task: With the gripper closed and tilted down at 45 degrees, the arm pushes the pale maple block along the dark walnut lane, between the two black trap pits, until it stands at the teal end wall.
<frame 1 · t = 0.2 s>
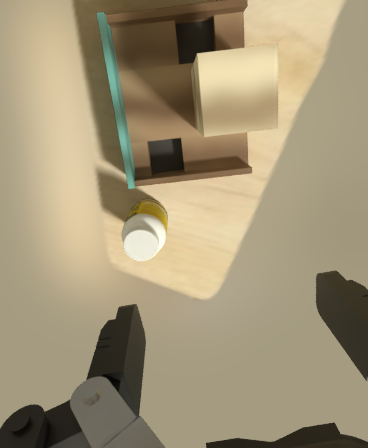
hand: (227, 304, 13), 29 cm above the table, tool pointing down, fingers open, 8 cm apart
supplement bottle: (149, 216, 43), on the table
trap lane: (182, 102, 37), on the table
maple block: (220, 97, 35), point 2 cm above the table, touching trap lane
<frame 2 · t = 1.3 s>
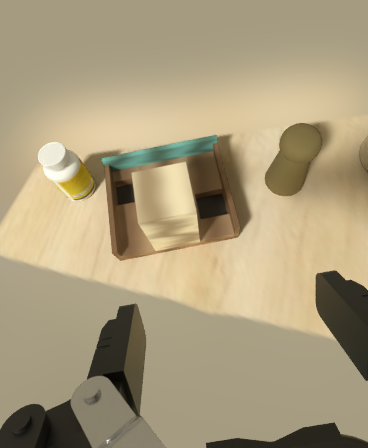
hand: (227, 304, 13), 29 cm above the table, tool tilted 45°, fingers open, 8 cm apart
supplement bottle: (81, 188, 50), on the table
trap lane: (171, 204, 47), on the table
maple block: (174, 226, 44), point 2 cm above the table, touching trap lane
olive pawn: (283, 179, 47), on the table
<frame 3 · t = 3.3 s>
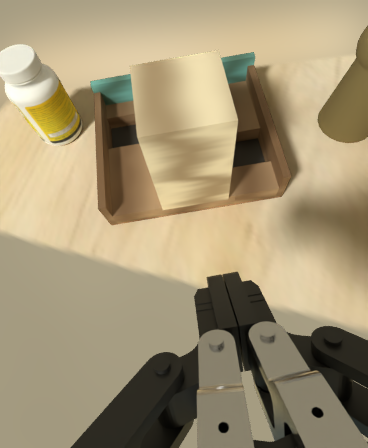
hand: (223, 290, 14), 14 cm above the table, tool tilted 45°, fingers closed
supplement bottle: (63, 130, 37), on the table
trap lane: (185, 152, 34), on the table
maple block: (190, 176, 30), point 2 cm above the table, touching trap lane
olive pawn: (344, 122, 34), on the table
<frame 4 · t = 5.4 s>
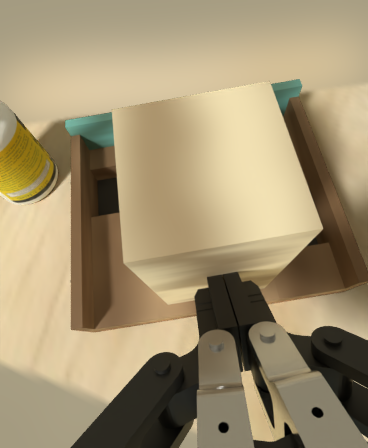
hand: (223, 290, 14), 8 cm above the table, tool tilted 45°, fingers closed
supplement bottle: (32, 180, 27), on the table
trap lane: (200, 217, 24), on the table
maple block: (207, 250, 21), point 2 cm above the table, touching gripper
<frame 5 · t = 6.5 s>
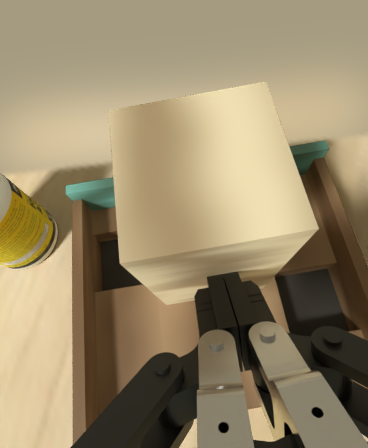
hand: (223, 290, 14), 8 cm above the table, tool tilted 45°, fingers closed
supplement bottle: (29, 239, 25), on the table
trap lane: (214, 287, 22), on the table
maple block: (205, 250, 21), point 2 cm above the table, touching gripper
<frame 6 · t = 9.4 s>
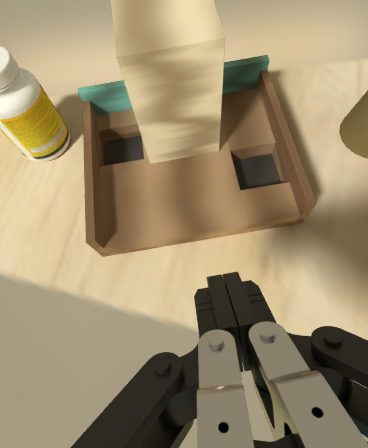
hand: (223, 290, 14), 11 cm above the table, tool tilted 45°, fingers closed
supplement bottle: (48, 143, 32), on the table
trap lane: (188, 169, 29), on the table
maple block: (179, 130, 29), point 2 cm above the table, touching trap lane
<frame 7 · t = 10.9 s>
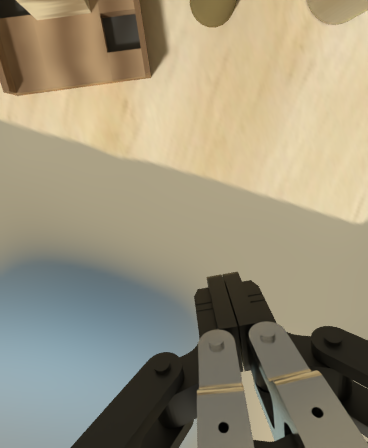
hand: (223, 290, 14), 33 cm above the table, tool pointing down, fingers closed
trap lane: (70, 22, 38), on the table
olive pawn: (212, 1, 39), on the table
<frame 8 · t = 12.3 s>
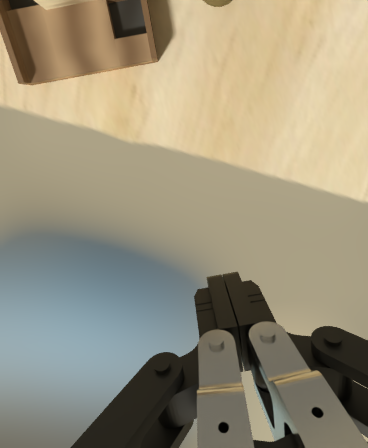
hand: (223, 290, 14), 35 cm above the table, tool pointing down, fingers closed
trap lane: (78, 9, 38), on the table
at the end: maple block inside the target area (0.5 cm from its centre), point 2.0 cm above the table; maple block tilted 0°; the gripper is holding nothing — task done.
